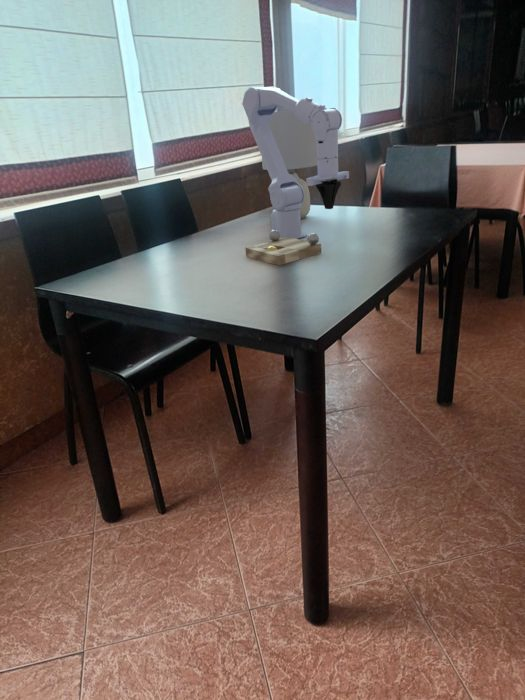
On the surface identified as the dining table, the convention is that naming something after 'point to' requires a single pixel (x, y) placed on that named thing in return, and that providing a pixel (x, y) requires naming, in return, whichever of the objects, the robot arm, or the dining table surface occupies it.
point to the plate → (283, 250)
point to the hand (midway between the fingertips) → (329, 208)
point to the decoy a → (274, 235)
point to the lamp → (294, 148)
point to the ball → (272, 248)
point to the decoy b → (312, 238)
